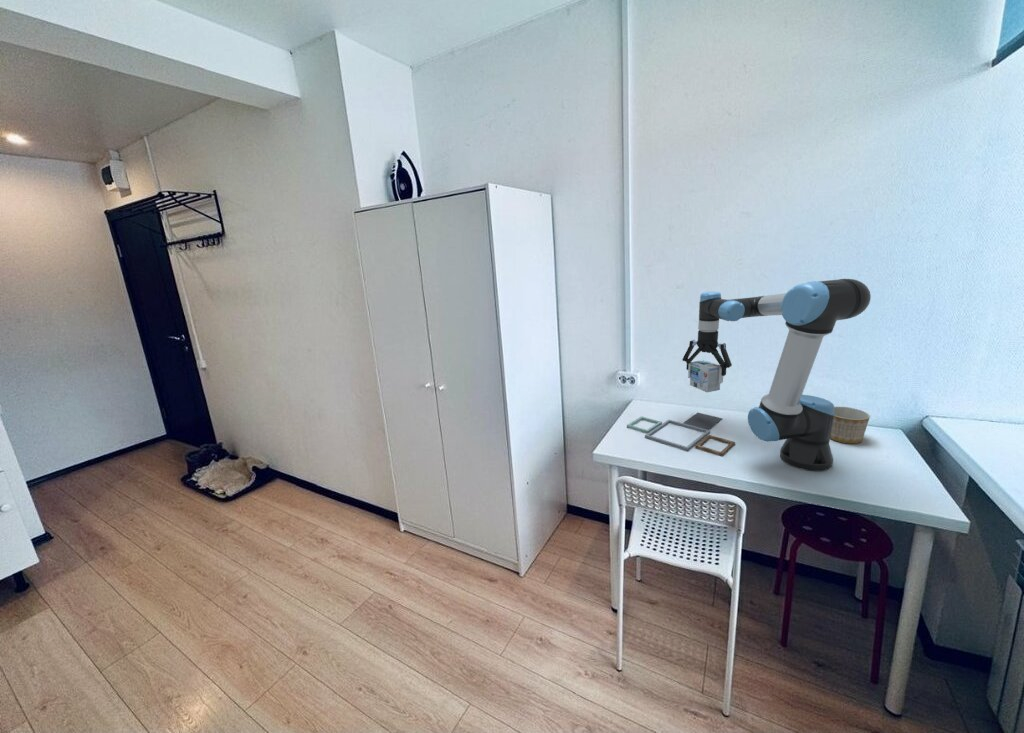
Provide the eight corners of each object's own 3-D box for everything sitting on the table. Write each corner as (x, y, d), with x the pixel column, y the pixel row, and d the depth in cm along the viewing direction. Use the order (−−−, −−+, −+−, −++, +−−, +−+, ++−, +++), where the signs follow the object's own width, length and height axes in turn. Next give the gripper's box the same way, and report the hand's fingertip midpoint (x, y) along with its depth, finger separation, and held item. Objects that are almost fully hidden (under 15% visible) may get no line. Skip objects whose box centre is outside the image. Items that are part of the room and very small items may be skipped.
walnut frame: (735, 444, 157) (735, 441, 157) (722, 456, 149) (722, 453, 149) (708, 437, 164) (708, 434, 164) (695, 448, 157) (695, 445, 156)
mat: (722, 419, 179) (722, 418, 179) (708, 430, 170) (708, 430, 169) (697, 413, 187) (697, 412, 187) (682, 424, 178) (682, 423, 177)
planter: (858, 449, 147) (863, 422, 145) (817, 437, 157) (821, 413, 154) (869, 438, 154) (874, 412, 152) (829, 428, 164) (833, 403, 161)
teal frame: (661, 424, 179) (662, 421, 178) (647, 433, 171) (647, 431, 171) (641, 418, 186) (641, 416, 186) (626, 427, 178) (626, 424, 178)
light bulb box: (689, 385, 178) (690, 361, 175) (701, 382, 180) (703, 359, 177) (707, 392, 168) (709, 368, 165) (720, 390, 170) (722, 365, 167)
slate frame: (710, 433, 168) (710, 430, 167) (687, 451, 155) (687, 448, 155) (668, 421, 181) (668, 419, 180) (644, 437, 168) (644, 435, 168)
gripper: (743, 331, 161) (739, 383, 167) (683, 325, 178) (681, 372, 184) (736, 335, 156) (731, 388, 162) (675, 329, 173) (673, 377, 179)
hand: (705, 380), depth 173 cm, fingers closed on light bulb box, 12 cm apart
